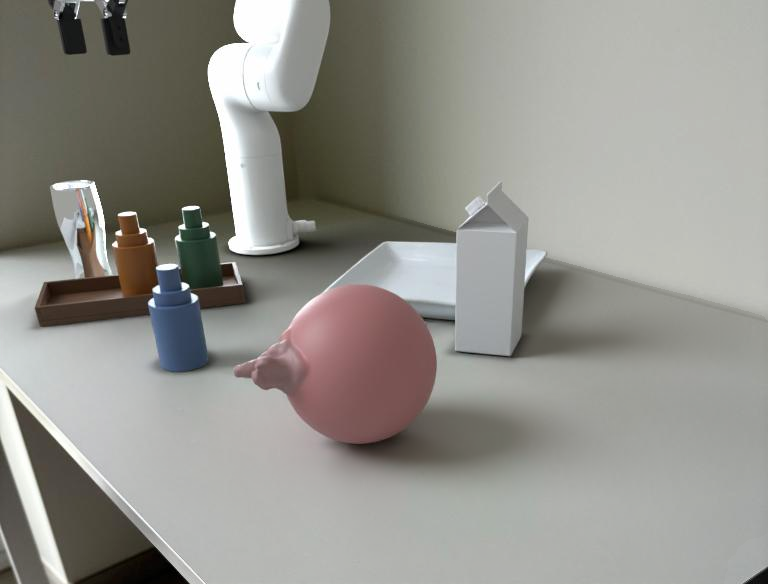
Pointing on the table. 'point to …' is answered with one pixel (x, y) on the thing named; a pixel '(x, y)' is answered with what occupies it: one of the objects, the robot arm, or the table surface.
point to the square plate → (419, 274)
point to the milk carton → (490, 275)
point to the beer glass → (81, 226)
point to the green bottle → (198, 251)
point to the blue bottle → (177, 322)
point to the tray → (120, 298)
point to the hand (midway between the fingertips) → (97, 54)
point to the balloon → (352, 364)
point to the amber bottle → (135, 257)
